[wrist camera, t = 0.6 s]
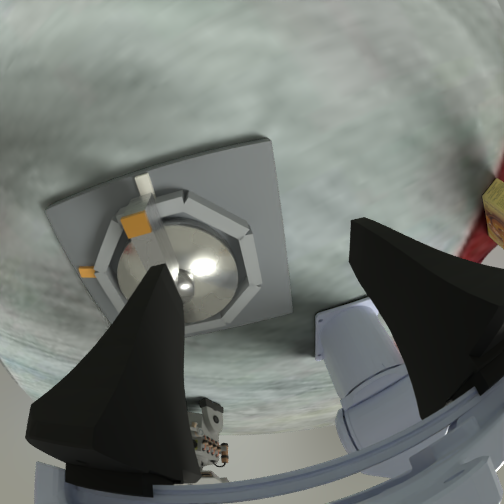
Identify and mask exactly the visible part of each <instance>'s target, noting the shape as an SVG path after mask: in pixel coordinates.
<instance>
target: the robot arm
mask: <svg viewBox="0 0 504 504" xmlns="http://www.w3.org/2000/svg"><path fill="white" fill-rule="evenodd" d="M349 263H350V265H351V267H352V269H353V271H354V273H355V275H356V277H357V279H358V281H359V283H360V284H361V286H362V287H363V289H364V290H365V292H366V293H367V295H368V296H369V297H367V298H364V299H361V300H358V301H355V302H352V303H349V304H345V305H342V306H339V307H336V308H333V309H329V310H326V311H323V312H319V313H317V314H316V316H315V360H316V361H320V360H323V359H324V362H325V364H326V367H327V369H328V372H329V374H330V377H331V379H332V382H333V384H334V387H335V390H336V392H337V394H338V396H339V397H340V398H341V400H340V402H341V404H342V407H343V408H341V409H339V410H338V412H337V416H336V419H335V423H336V429H337V432H338V435H339V438H340V440H341V442H342V445H343V447H344V448H345V450H346V452H347V453H348V455H345V456H342V457H339V458H336V459H333V460H330V461H327V462H324V463H320V464H317V465H314V466H310V467H306V468H303V469H299V470H295V471H291V472H287V473H282V474H278V475H272V476H267V477H262V478H256V479H250V480H244V481H235V482H227V483H216V484H202V485H174V484H189V483H197V482H198V481H199V480H200V479H201V477H202V474H201V471H200V468H199V464H198V460H197V457H196V453H195V449H194V444H193V440H192V435H191V430H190V425H189V419H188V412H187V406H186V398H185V389H184V336H185V321H184V309H183V301H182V299H181V297H180V295H179V292H178V290H177V288H176V286H175V283H174V281H173V279H172V277H171V274H170V272H169V270H168V267H167V265H166V263H164V264H160V265H156V266H151V267H150V268H149V270H148V271H147V273H146V274H145V276H144V277H143V279H142V280H141V282H140V283H139V285H138V286H137V288H136V289H135V291H134V292H133V294H132V295H131V297H130V298H129V300H128V301H127V303H126V305H125V306H124V307H123V309H122V310H121V312H120V313H119V314H118V316H117V317H116V319H115V320H114V322H113V323H112V325H111V326H110V327H109V329H108V330H107V331H106V332H105V334H104V335H103V336H102V337H101V339H100V340H99V341H98V342H97V344H96V345H95V346H94V347H93V348H92V349H91V351H90V352H89V353H88V354H87V355H86V356H85V357H84V358H83V359H82V360H81V361H80V362H79V363H78V365H77V366H76V367H75V368H74V369H73V370H72V371H71V372H70V373H68V374H67V375H66V376H65V377H64V378H63V379H62V380H61V381H60V382H59V383H58V384H56V385H55V386H54V387H53V388H52V389H51V390H49V391H48V392H47V393H45V394H44V395H43V396H42V397H40V398H39V399H38V400H36V401H35V402H34V403H33V404H31V408H30V413H29V418H28V424H27V430H26V436H25V438H26V440H27V441H28V442H29V443H30V444H31V445H33V446H34V447H36V448H37V449H39V450H41V451H43V452H45V453H46V454H48V455H50V456H52V457H54V458H56V459H58V460H61V461H63V462H65V463H66V470H65V469H62V468H59V467H56V466H52V465H49V464H45V463H42V462H39V461H38V462H36V472H35V494H34V495H35V496H34V497H35V498H34V499H35V500H34V501H35V503H34V504H222V503H233V502H242V501H250V500H257V499H263V498H269V497H275V496H279V495H285V494H289V493H293V492H297V491H302V490H306V489H309V488H313V487H316V486H320V485H324V484H327V483H330V482H333V481H336V480H339V479H342V478H345V477H348V476H350V475H353V474H356V473H358V472H361V473H363V474H366V475H372V476H379V477H387V478H391V479H390V480H387V481H385V482H383V483H381V484H379V485H376V486H374V487H372V488H369V489H366V490H364V491H361V492H358V493H356V494H353V495H350V496H347V497H345V498H341V499H338V500H336V501H332V502H329V503H326V504H501V500H502V495H503V489H502V487H501V484H500V481H499V478H498V476H497V473H496V471H497V470H498V469H499V468H500V467H501V466H502V464H503V463H504V269H501V268H496V267H491V266H487V265H483V264H479V263H475V262H472V261H468V260H465V259H462V258H459V257H456V256H453V255H450V254H448V253H445V252H442V251H440V250H437V249H435V248H432V247H430V246H428V245H425V244H423V243H421V242H419V241H416V240H414V239H412V238H410V237H408V236H406V235H403V234H401V233H399V232H397V231H395V230H393V229H391V228H389V227H387V226H384V225H382V224H380V223H378V222H376V221H373V220H371V219H368V218H365V217H363V218H359V219H354V220H351V232H350V251H349ZM378 312H379V313H380V314H381V316H382V317H383V319H384V321H385V322H386V324H387V326H388V327H389V329H390V331H391V333H392V335H393V338H394V340H395V342H396V344H397V346H398V348H399V351H400V353H401V355H400V353H399V352H398V350H397V348H396V346H395V345H394V343H393V341H392V340H391V338H390V336H389V335H388V333H387V331H386V330H385V328H384V326H383V325H382V323H381V322H380V320H379V318H378ZM401 356H402V357H401ZM449 425H450V426H449ZM447 431H448V433H447ZM446 433H447V434H446Z"/></svg>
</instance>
